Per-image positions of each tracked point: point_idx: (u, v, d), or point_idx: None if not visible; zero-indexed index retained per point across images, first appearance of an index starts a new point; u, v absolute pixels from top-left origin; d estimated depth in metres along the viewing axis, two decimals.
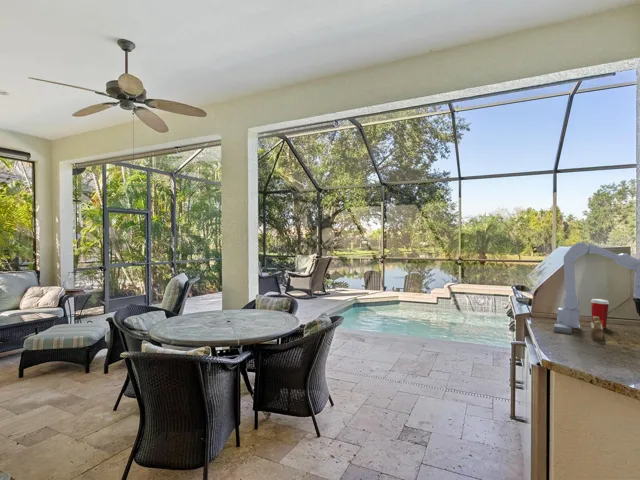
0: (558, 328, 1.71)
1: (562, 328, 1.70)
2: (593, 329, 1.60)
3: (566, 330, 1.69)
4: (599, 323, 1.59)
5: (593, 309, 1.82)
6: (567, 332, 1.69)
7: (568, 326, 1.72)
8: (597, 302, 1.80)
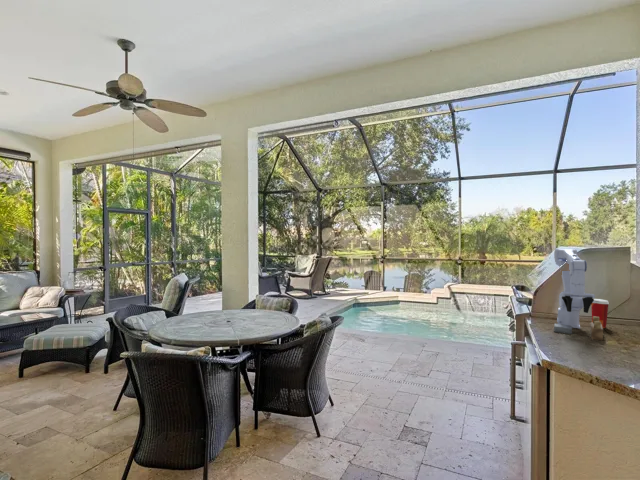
0: (558, 328, 1.71)
1: (562, 328, 1.70)
2: (593, 329, 1.60)
3: (566, 330, 1.69)
4: (599, 323, 1.59)
5: (593, 309, 1.82)
6: (567, 332, 1.69)
7: (568, 326, 1.72)
8: (597, 302, 1.80)
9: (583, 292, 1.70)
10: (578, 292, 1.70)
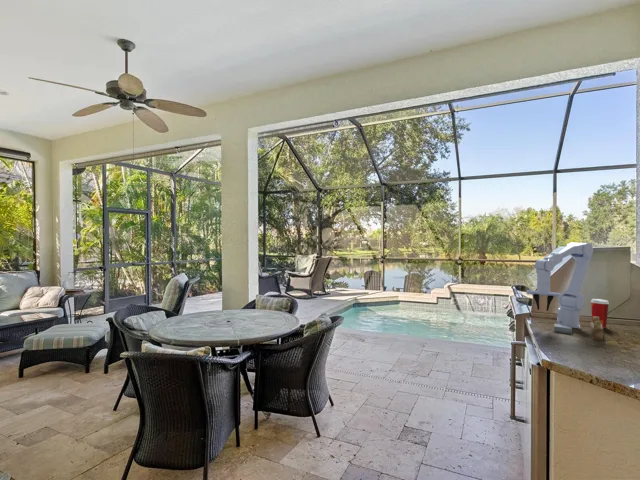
0: (558, 328, 1.71)
1: (562, 328, 1.70)
2: (593, 329, 1.60)
3: (566, 330, 1.69)
4: (599, 323, 1.59)
5: (593, 309, 1.82)
6: (567, 332, 1.69)
7: (568, 326, 1.72)
8: (597, 302, 1.80)
9: (546, 291, 1.74)
10: (540, 291, 1.76)
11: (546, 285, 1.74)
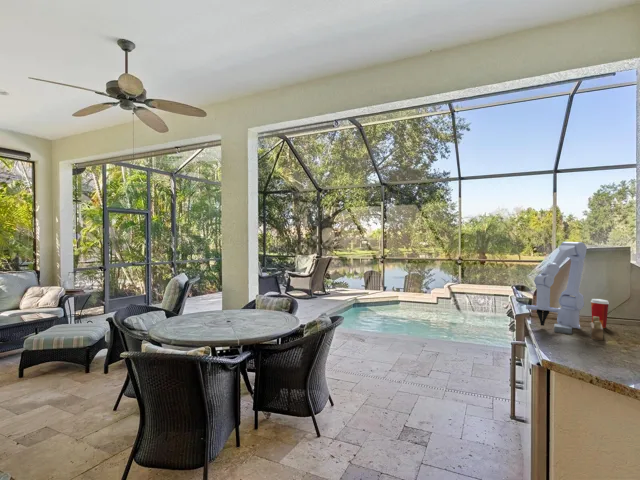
0: (558, 328, 1.71)
1: (562, 328, 1.70)
2: (593, 329, 1.60)
3: (566, 330, 1.69)
4: (599, 323, 1.59)
5: (593, 309, 1.82)
6: (567, 332, 1.69)
7: (568, 326, 1.72)
8: (597, 302, 1.80)
9: (545, 306, 1.75)
10: (540, 306, 1.76)
11: (546, 301, 1.74)
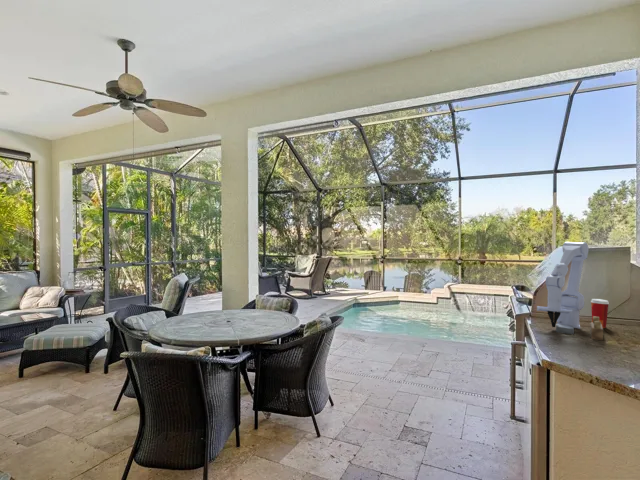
0: (560, 328, 1.70)
1: (564, 328, 1.69)
2: (593, 329, 1.60)
3: (568, 330, 1.68)
4: (599, 323, 1.59)
5: (593, 309, 1.82)
6: (569, 332, 1.68)
7: (570, 326, 1.71)
8: (597, 302, 1.80)
9: (556, 308, 1.72)
10: (551, 307, 1.73)
11: (557, 302, 1.72)
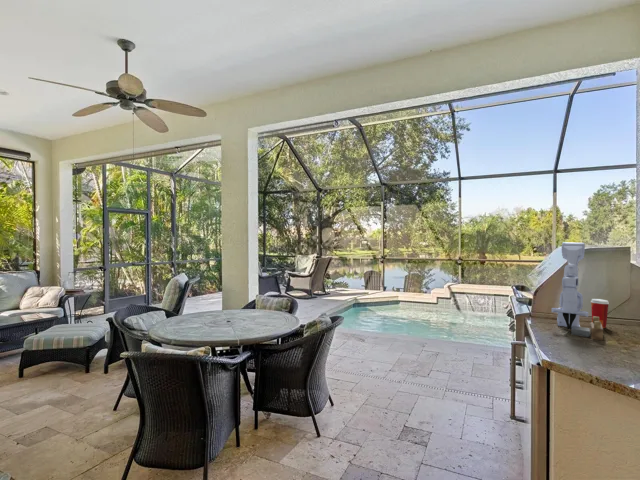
0: (575, 331, 1.66)
1: (580, 331, 1.65)
2: (593, 329, 1.60)
3: (584, 333, 1.64)
4: (599, 323, 1.59)
5: (593, 309, 1.82)
6: (585, 335, 1.64)
7: (586, 329, 1.67)
8: (597, 302, 1.80)
9: (572, 310, 1.68)
10: (566, 309, 1.69)
11: (573, 303, 1.68)
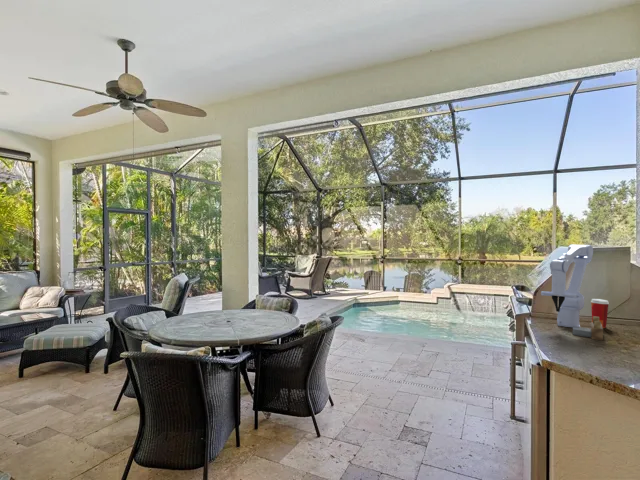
0: (577, 331, 1.66)
1: (581, 331, 1.65)
2: (593, 329, 1.60)
3: (585, 333, 1.64)
4: (599, 323, 1.59)
5: (593, 309, 1.82)
6: (586, 335, 1.64)
7: (587, 329, 1.67)
8: (597, 302, 1.80)
9: (561, 292, 1.72)
10: (555, 292, 1.73)
11: (561, 286, 1.72)
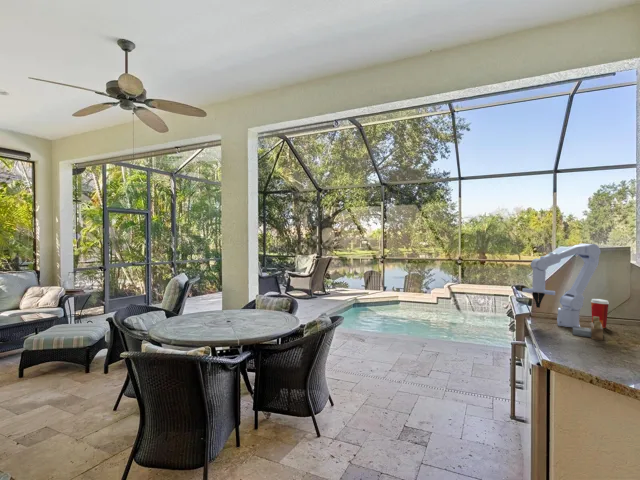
0: (577, 331, 1.66)
1: (581, 331, 1.65)
2: (593, 329, 1.60)
3: (585, 333, 1.64)
4: (599, 323, 1.59)
5: (593, 309, 1.82)
6: (586, 335, 1.64)
7: (587, 329, 1.67)
8: (597, 302, 1.80)
9: (541, 289, 1.81)
10: (535, 289, 1.82)
11: (541, 283, 1.81)
